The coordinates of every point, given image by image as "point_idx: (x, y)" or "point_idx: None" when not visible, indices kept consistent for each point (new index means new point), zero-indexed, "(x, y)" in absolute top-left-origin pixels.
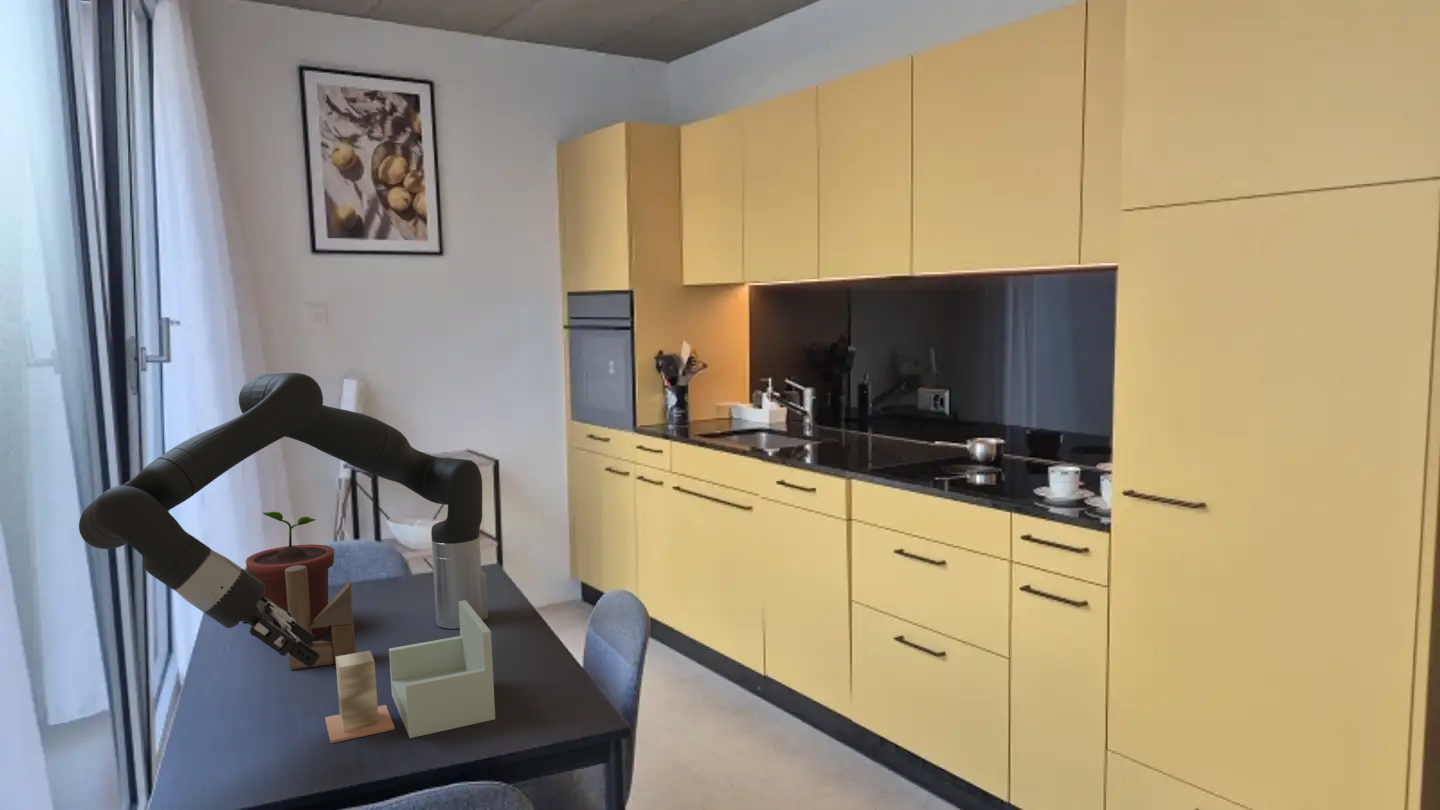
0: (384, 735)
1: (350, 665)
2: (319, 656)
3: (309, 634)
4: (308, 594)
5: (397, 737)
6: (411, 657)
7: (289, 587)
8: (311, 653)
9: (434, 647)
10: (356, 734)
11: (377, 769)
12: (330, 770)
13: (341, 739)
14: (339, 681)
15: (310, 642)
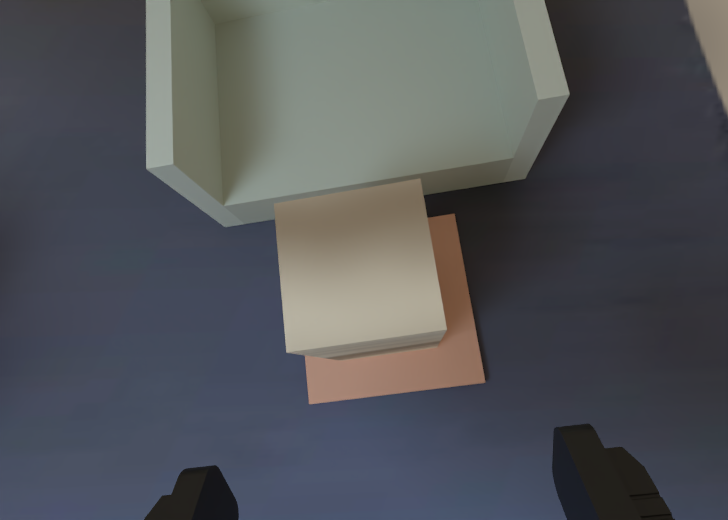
0: (482, 240)
1: (437, 278)
2: (589, 424)
3: (198, 508)
4: None
5: (507, 208)
6: (191, 117)
7: None
8: (643, 482)
9: (179, 37)
10: (469, 311)
11: (696, 253)
12: (668, 376)
13: (479, 352)
14: (418, 339)
15: (225, 491)
